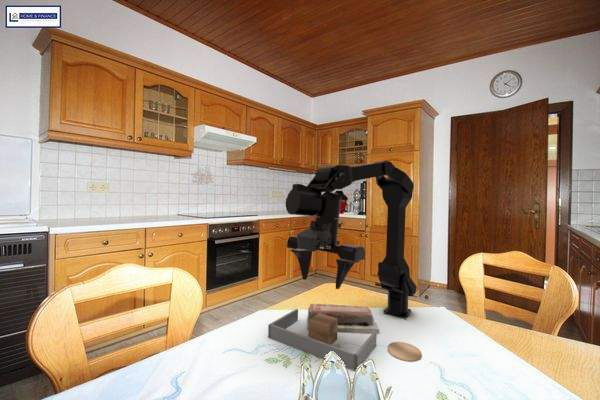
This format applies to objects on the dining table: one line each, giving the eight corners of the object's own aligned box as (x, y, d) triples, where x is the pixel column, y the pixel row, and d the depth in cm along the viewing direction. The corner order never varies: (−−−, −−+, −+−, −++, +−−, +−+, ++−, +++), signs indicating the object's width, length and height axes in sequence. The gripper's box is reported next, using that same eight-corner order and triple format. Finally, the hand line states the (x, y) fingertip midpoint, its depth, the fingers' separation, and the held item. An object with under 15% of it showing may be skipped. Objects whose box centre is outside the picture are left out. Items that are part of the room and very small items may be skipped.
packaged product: (307, 313, 70) (308, 298, 80) (306, 332, 70) (307, 315, 80) (380, 316, 69) (372, 301, 79) (379, 336, 69) (371, 318, 79)
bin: (296, 319, 76) (296, 308, 76) (376, 345, 64) (376, 332, 64) (268, 337, 67) (268, 324, 67) (356, 371, 54) (356, 355, 54)
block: (318, 333, 69) (319, 313, 69) (337, 339, 67) (337, 318, 66) (308, 341, 65) (308, 320, 65) (327, 348, 62) (327, 326, 62)
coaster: (392, 340, 66) (392, 338, 66) (424, 350, 62) (424, 348, 62) (383, 354, 61) (383, 352, 61) (417, 365, 57) (417, 363, 57)
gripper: (275, 212, 66) (268, 279, 65) (345, 220, 55) (338, 301, 54) (303, 215, 75) (297, 274, 74) (369, 222, 64) (362, 292, 63)
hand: (320, 284), depth 66 cm, fingers open, 9 cm apart
